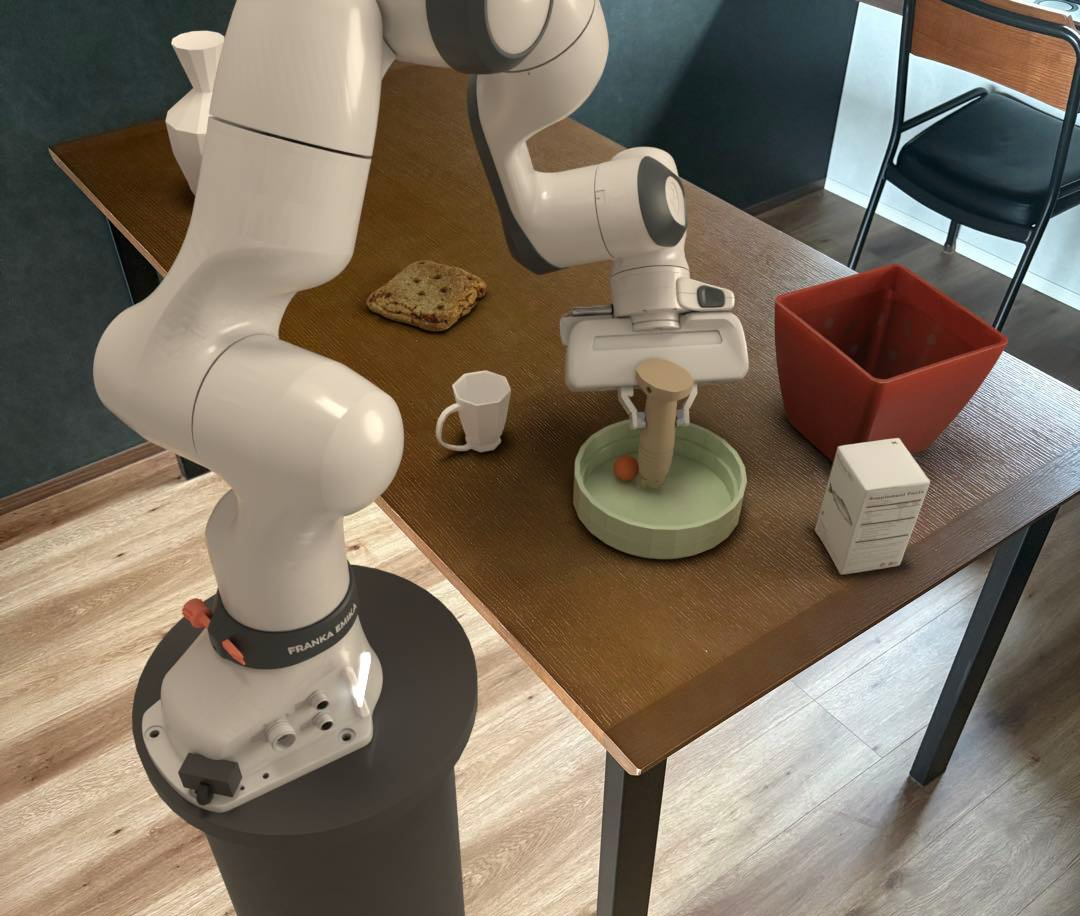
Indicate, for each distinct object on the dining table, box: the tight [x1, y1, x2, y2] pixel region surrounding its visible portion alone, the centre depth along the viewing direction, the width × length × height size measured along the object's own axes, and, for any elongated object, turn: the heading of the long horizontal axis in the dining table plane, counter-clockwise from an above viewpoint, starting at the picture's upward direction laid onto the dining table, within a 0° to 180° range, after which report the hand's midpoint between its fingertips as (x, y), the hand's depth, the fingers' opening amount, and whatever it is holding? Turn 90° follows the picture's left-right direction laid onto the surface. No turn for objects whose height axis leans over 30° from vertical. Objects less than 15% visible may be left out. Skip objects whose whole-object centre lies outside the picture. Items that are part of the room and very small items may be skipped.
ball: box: [613, 455, 639, 481], centre depth 126 cm, size 3×3×3 cm
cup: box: [435, 369, 512, 453], centre depth 129 cm, size 7×10×8 cm
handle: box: [635, 358, 694, 489], centre depth 120 cm, size 5×6×15 cm
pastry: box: [365, 259, 487, 332], centre depth 153 cm, size 17×17×3 cm
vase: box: [165, 30, 225, 197], centre depth 166 cm, size 14×14×25 cm
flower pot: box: [774, 263, 1009, 464], centre depth 128 cm, size 19×19×17 cm
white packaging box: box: [814, 438, 931, 575], centre depth 115 cm, size 7×7×13 cm
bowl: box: [572, 418, 748, 560], centre depth 123 cm, size 19×19×5 cm
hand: (660, 427), depth 119 cm, fingers closed on handle, 3 cm apart
